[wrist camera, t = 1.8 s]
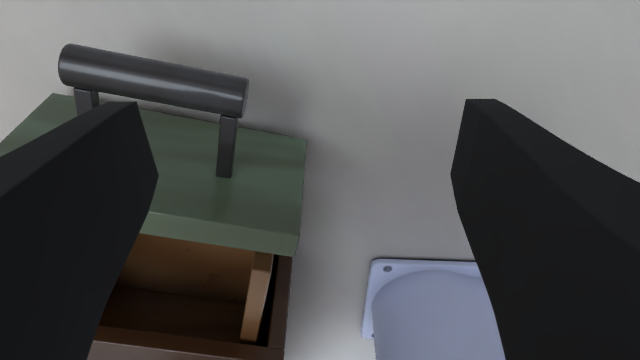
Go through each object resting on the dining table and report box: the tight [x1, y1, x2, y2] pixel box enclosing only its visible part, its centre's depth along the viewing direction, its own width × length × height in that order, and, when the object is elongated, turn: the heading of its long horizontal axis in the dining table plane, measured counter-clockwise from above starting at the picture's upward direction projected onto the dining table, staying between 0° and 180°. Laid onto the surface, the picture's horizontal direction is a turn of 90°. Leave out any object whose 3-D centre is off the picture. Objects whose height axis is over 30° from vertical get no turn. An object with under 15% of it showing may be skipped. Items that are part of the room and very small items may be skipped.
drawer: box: [0, 44, 307, 345], centre depth 20 cm, size 17×11×6 cm
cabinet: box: [87, 254, 293, 360], centre depth 26 cm, size 14×13×8 cm
